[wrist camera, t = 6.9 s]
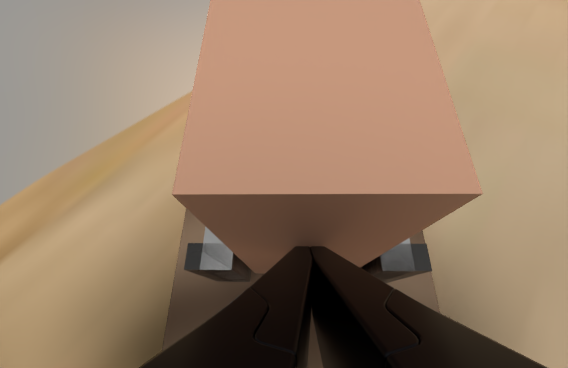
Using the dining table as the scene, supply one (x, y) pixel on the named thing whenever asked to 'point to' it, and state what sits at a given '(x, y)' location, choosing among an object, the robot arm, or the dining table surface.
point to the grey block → (229, 268)
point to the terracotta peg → (320, 129)
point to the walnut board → (216, 295)
